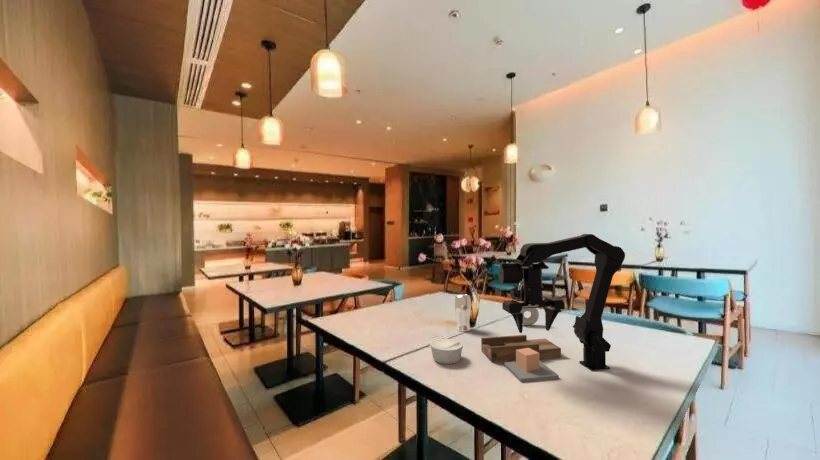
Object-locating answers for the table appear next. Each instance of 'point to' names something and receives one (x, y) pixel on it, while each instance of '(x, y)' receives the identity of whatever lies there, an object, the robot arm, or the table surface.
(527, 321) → the donut
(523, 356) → the block
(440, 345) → the ramekin
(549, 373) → the mat
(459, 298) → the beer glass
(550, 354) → the divided wooden tray
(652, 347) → the table surface
